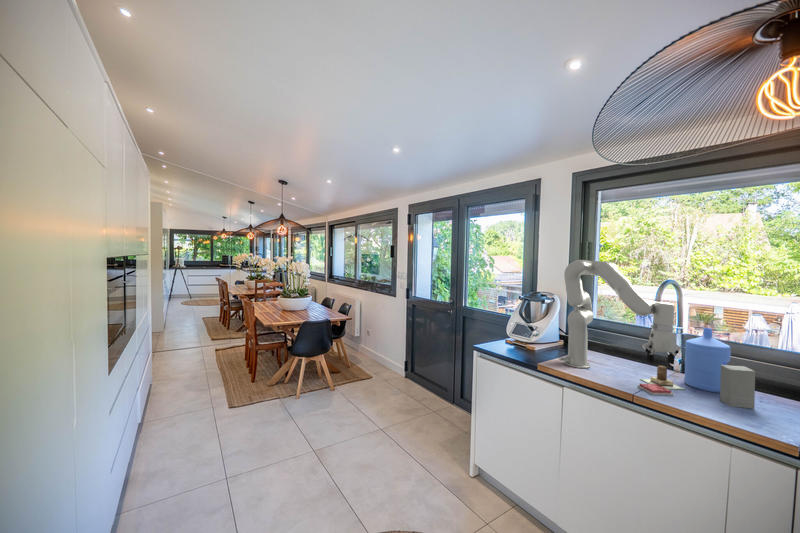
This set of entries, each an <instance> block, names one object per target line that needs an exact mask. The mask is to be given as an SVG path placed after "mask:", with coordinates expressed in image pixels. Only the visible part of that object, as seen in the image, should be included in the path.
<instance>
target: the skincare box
mask: <svg viewBox="0 0 800 533" xmlns="http://www.w3.org/2000/svg"><path fill="white" fill-rule="evenodd" d="M719 394H720V395H719V401H721V402H723V403H724V404H725V405H727V406H728V407H735V408H741V409H742V408H743V409H753V410H754V409H755V397H756V371H755V370H753V369H751V368H749V367H748V366H743V365H729V364H727V365H721V382H720V393H719Z"/></svg>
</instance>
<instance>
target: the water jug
mask: <svg viewBox="0 0 800 533" xmlns="http://www.w3.org/2000/svg"><path fill="white" fill-rule="evenodd" d="M702 330H703V331H702V336H699V337H694V338H690V339H687V340H685V345H684V350H685V351H684V352H685V357H684V358H685V359H684V376H683V377H684V380H683V381H684V383H685V384H686V385H688V386H690V387H692V388H695V389H698V390H701V391H704V392H705V391H706V392H711V393H716V394H717V393H719V394H720V382H721V365H728V363H729V362H730V361H731V355H732V350H731V346H730V345H728V344H726V343H724V342H723V341H720V340H718V339H716V338H714V337H713V328H708V327H702Z"/></svg>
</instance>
